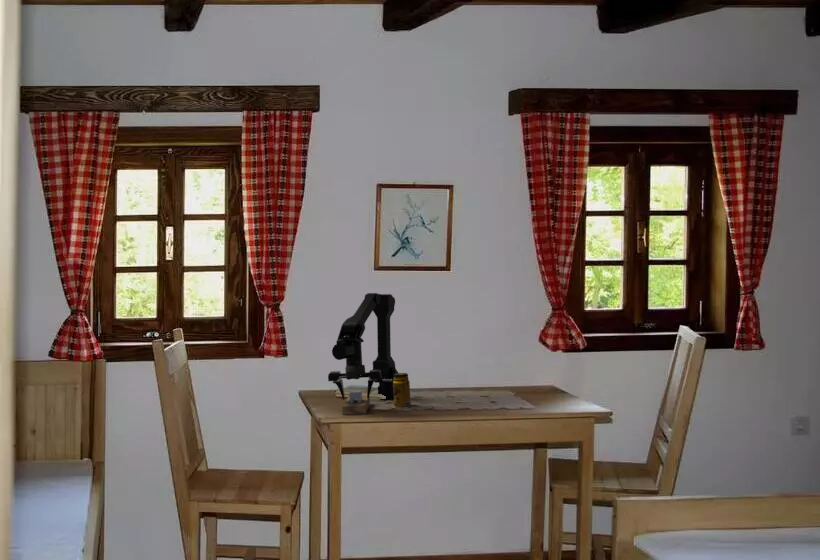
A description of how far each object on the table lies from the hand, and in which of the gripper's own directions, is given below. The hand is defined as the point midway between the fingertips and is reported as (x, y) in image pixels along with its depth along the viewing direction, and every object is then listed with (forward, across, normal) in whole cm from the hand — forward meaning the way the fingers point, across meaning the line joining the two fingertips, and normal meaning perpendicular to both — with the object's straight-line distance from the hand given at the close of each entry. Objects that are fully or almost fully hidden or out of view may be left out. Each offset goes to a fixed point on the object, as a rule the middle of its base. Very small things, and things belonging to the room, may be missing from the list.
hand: (356, 399), depth 377 cm
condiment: (+4, +17, +4) cm, 18 cm away
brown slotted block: (+4, 0, +1) cm, 4 cm away
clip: (+4, 0, 0) cm, 4 cm away
